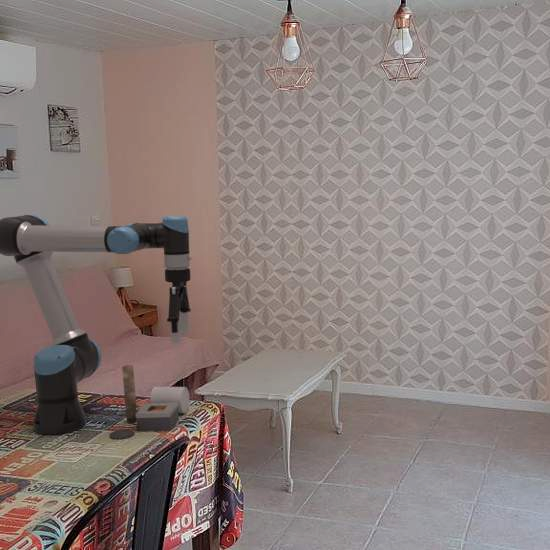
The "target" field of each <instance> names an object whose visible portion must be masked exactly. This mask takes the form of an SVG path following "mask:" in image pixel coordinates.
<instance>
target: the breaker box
mask: <svg viewBox="0 0 550 550" xmlns="http://www.w3.org/2000/svg"><path fill="white" fill-rule="evenodd" d="M153 409H164V410H163V411H151V410H153ZM179 420H180V419H179V413H178V403H150V402H149V403H144V404H143V405H142V406H141V407H140V408H139V410H137V413H136V422H135V425H136V432H171V431H172V430H173V429H174V427H175V426H176V425H177V423H178V421H179Z"/></svg>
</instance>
